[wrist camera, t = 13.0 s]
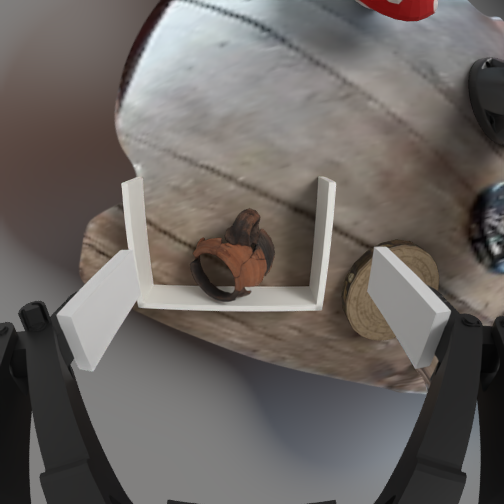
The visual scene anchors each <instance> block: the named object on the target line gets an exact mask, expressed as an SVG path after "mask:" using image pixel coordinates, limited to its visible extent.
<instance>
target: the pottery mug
mask: <svg viewBox="0 0 504 504" xmlns="http://www.w3.org/2000/svg"><path fill="white" fill-rule="evenodd" d="M259 221H260V215H259V214H258V212H257V211H256V210H252V209H250V208H249V209H246V210H244V211H242V212H241V213H240V214H239V215H238V217H237V218H236V220H235V222H234V223H233V226H231V227H230V228H228V229H227V231H226V234H225V239H226V241H227V242H229V243H225V244H223V243H222V238H213V239H208V240H205V238H201V239H200V241H199V242H198V244H197V247H196V250H195V251H194V252H193V255H194V256H195V260H194V261H193V262H191V263H190V268H191V272H192V275H193V277H194V279H195V281H196V283H197V284H198V285H199V286H200V288H201V289H202V290H203V291H204V292H205V293H206V294H207V295H208V296H210V297H212V298H213V299H215V300H218V301H222V302H230V301H235V299H236V298H239V297H243V296H247V295H249V294H250V293H251V292H252V291H251V290H249V291H247V290H246V289H245V287H254V286H258V284H259V283H261V282H262V280H263V277H264V276H266V275H267V274H268V273H269V271H270V269H271V267H272V263H273V260H274V255H275V251H274V245H273V242H272V240H271V238H270V237H269V235H268V234H267V233H266V232H265V231H264V230H263V229H261V230H260V231H259V225H258V224H259ZM251 244H255V248H254V250H252V248H251V246H250V245H251ZM203 253H209V254H213V255H216V256H218V257H219V258H220V259H221V260H222V261H223V262H225V264H226V265H227V266H228V267H229V269H230V270H231V272H232V274H233V276H234V280H235V290H234V291H233V292H232V293H230V292H224V291H222V290H220V289H218V288H217V287H216V286H215V285H213V284H212V283H211V282H210V281H209V279H208V277H207V276H206V275H205V273H204V272H203V270H202V267H201V263H200V255H201V254H203Z"/></svg>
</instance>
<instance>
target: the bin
mask: <svg viewBox="0 0 504 504" xmlns="http://www.w3.org/2000/svg"><path fill="white" fill-rule="evenodd" d="M335 191H336V182H334V181H332V180H330V179H328V178H326V177H322V176H318V192H317V207H316V220H315V233H314V244H313V255H312V265H311V275H310V284H309V286H286V287H245V289H246V290H247V291H249V290H251V291H252V292H251V293H250V294H249V295H247V296H243V297H239V298H236V299H235V301H230V302H222V301H218V300H215V299H213V298H212V297H210V296H208V295H207V294H206V293H205V292H204V291H203V290H202V289H201V288H200V286H184V285H154V284H153V277H152V270H151V262H150V254H149V246H148V237H147V227H146V216H145V204H144V189H143V177H136V178H134V179H131V180H129V181H126V182H124V183H122V194H123V206H124V216H125V225H126V234H127V242H128V249H129V250H133V255H134V261H135V267H136V272H137V277H138V282H139V287H140V292H141V295H140V296H139V298H138V299H137V302H138V307H139V308H154V309H175V310H203V311H313V310H322V306H323V299H324V292H325V285H326V278H327V270H328V262H329V254H330V245H331V236H332V226H333V216H334V204H335ZM216 287H217V288H218V289H220V290H222V291H224V292H230V293H232V292H233V291H234V290H235V286H216Z"/></svg>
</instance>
